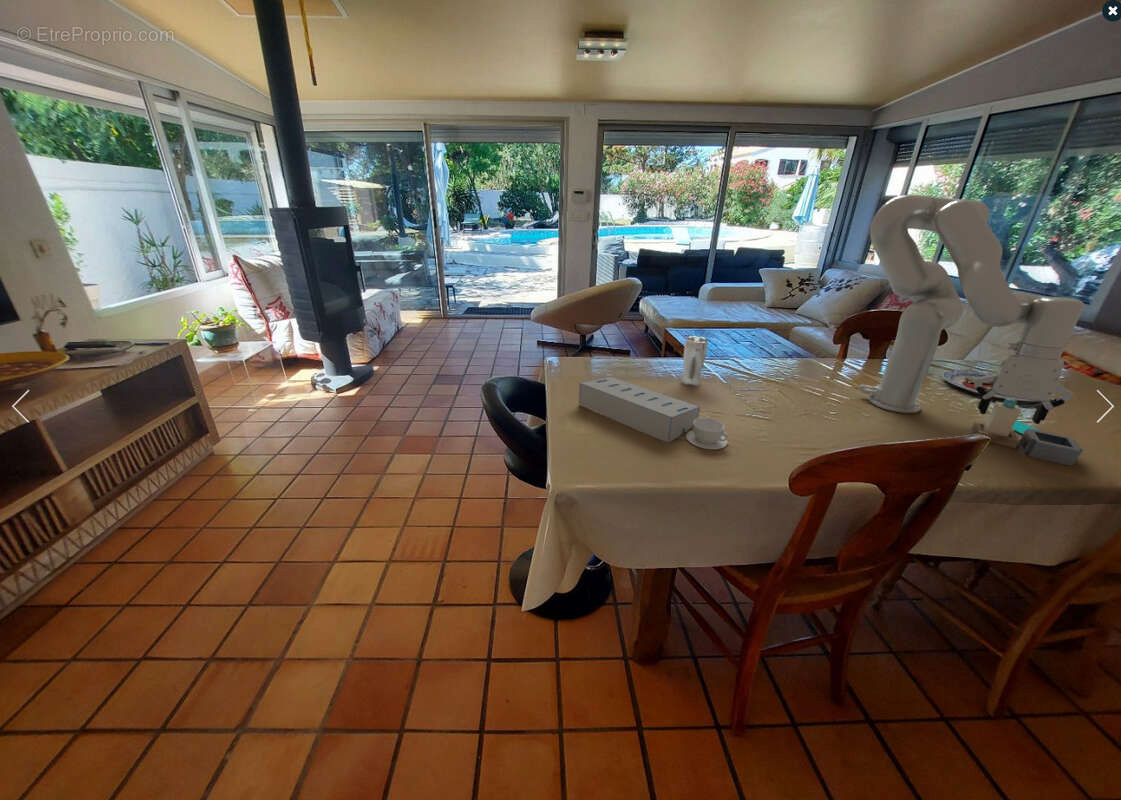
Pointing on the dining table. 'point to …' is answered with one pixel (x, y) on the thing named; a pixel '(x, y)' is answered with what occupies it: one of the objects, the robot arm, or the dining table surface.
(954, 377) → the ceramic plate
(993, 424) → the plug
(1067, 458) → the socket
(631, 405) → the slotted grey box
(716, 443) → the teacup
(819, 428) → the dining table surface
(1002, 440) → the holster
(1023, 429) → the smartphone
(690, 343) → the beer glass
